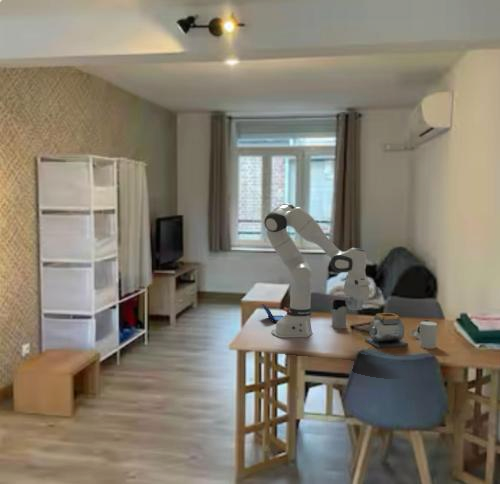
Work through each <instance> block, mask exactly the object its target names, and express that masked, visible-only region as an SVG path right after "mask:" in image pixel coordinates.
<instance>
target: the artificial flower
mask: <svg viewBox="0 0 500 484" xmlns="http://www.w3.org/2000/svg"><path fill="white" fill-rule="evenodd" d="M422 322H431V321H430V320H428V319H427V320H426V319H425V320H423V321H422ZM416 328H417V329H413V328H412V329H411V330H410V334H411V336H412V337H413V338H414V337H415V338H417V340H419V341H420V323H418V325H417V326H416Z"/></svg>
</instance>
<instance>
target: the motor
mask: <svg viewBox="0 0 500 484" xmlns="http://www.w3.org/2000/svg"><path fill="white" fill-rule="evenodd" d="M368 330H369V335H370V337H365V338H364V342H367V343H368V344H370V345H372V346H374V347H376V348H377V349H389V348H401V347H408V346H409V343H408V342H407V341H404V340H403V339H404V337H405V325H404V323H403V321H402V319H401V318H400V315H397V314H395V313H392V312H388V313H387V312H386V313H375V315H374V317H373V320H371V322H370V323H369V329H368Z"/></svg>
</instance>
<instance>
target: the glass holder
mask: <svg viewBox="0 0 500 484" xmlns="http://www.w3.org/2000/svg"><path fill="white" fill-rule="evenodd" d="M346 301H347V300H345V299H334V300H330V302H329V311H330V314H331V317H332V320H331V326H330V327H331V328H334V329H347V325H346V324H347V305H346Z"/></svg>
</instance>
